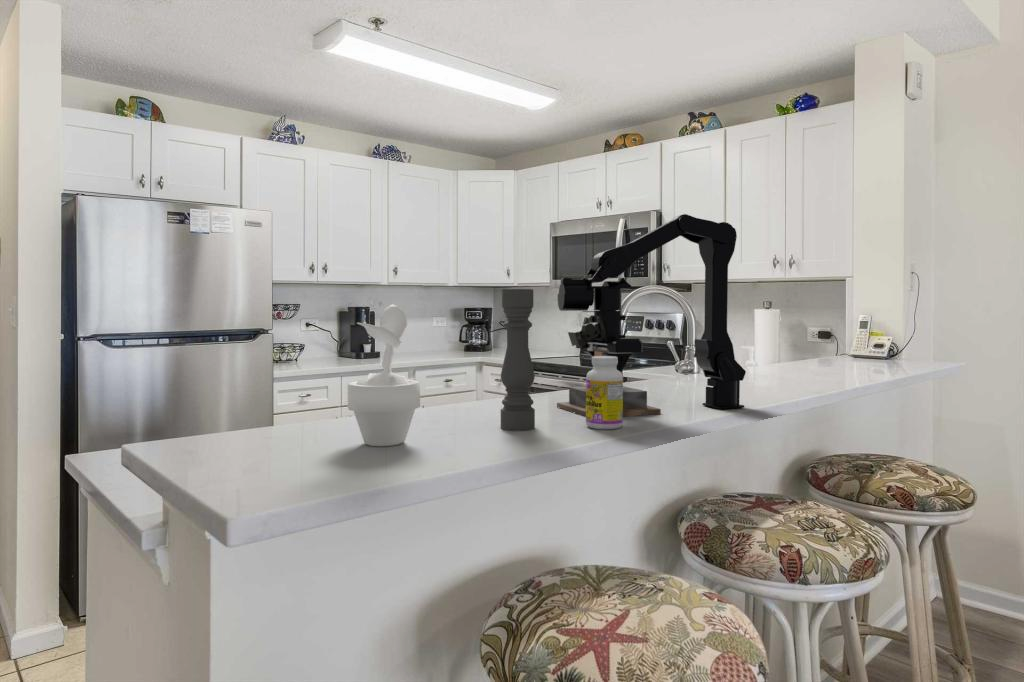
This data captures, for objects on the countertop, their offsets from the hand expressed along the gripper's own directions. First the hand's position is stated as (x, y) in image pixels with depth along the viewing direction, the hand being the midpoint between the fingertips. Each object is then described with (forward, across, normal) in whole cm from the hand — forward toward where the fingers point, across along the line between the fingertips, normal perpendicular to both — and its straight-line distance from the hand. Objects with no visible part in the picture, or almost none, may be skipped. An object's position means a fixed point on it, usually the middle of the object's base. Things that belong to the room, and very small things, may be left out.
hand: (607, 384), depth 139 cm
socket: (+6, 0, 0) cm, 6 cm away
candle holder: (+6, +12, -25) cm, 28 cm away
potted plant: (+6, +17, -50) cm, 54 cm away
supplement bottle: (+6, +17, -10) cm, 21 cm away
